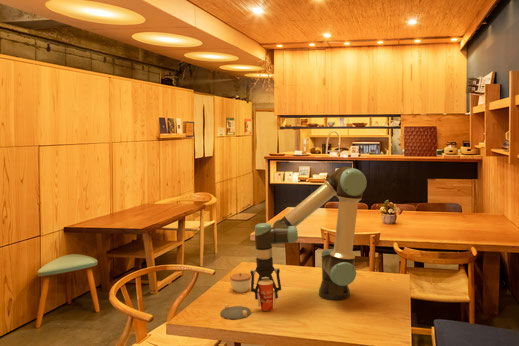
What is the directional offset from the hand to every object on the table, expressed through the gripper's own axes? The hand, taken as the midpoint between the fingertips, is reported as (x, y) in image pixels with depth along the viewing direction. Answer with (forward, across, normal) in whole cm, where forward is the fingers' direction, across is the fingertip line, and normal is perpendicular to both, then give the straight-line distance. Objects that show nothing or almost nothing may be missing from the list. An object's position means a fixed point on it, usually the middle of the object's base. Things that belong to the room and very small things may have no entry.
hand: (266, 305), depth 236 cm
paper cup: (+2, 0, 0) cm, 2 cm away
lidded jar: (+2, +14, -28) cm, 31 cm away
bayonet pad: (+2, +14, +3) cm, 15 cm away
